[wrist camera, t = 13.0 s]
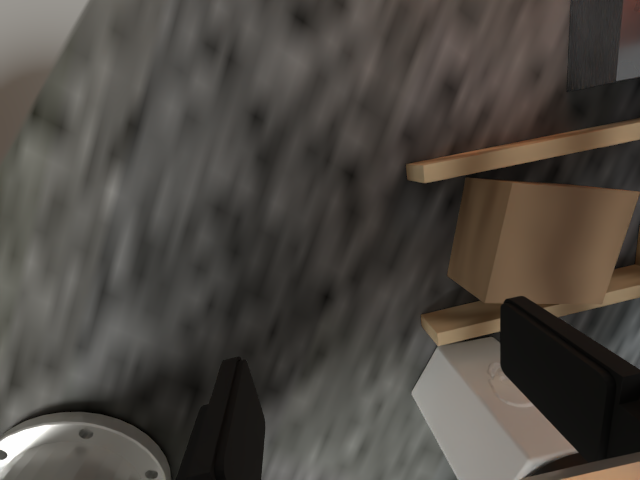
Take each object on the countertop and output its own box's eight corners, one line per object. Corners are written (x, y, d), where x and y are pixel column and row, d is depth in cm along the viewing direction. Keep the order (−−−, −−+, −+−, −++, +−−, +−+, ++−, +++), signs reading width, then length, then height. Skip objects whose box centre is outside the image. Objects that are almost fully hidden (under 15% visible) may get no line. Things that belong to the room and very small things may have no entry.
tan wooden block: (445, 274, 22) (484, 303, 18) (463, 176, 20) (512, 182, 16) (542, 276, 23) (602, 304, 19) (568, 184, 22) (640, 191, 17)
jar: (517, 327, 24) (733, 485, 13) (511, 410, 26) (688, 606, 15) (408, 347, 23) (532, 534, 12) (411, 430, 26) (518, 654, 14)
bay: (421, 326, 23) (438, 346, 21) (405, 164, 19) (423, 165, 17) (644, 273, 24) (684, 286, 22) (666, 112, 21) (716, 106, 18)
